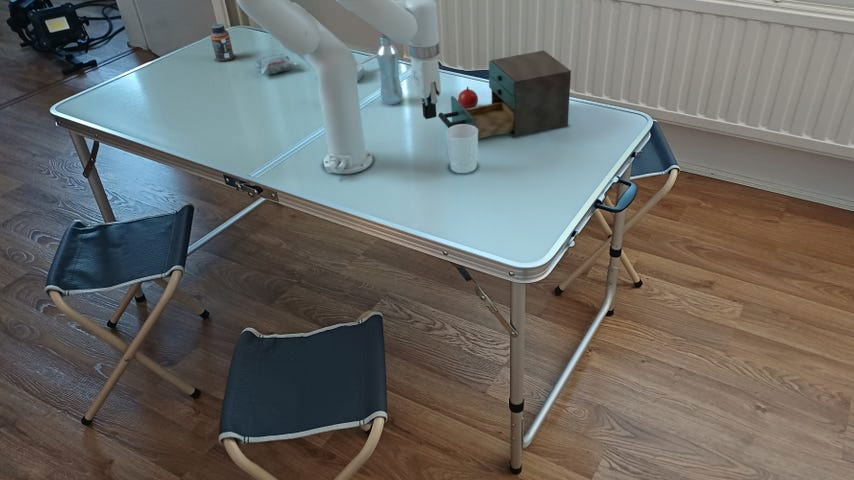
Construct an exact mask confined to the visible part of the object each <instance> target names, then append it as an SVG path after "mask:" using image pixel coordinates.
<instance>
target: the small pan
mask: <svg viewBox="0 0 854 480" xmlns="http://www.w3.org/2000/svg"><path fill="white" fill-rule="evenodd" d="M373 59H377V54H373V55H371V56H369V57H367V58H365V59H363V60H362V59H361V60H360V61H356V63H357V82H358V81H360V80H361V79H362V76H363V74H364V69H365V68H364V63H367V62H370V61H371V60H373Z"/></svg>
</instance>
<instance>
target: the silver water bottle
mask: <svg viewBox="0 0 854 480" xmlns="http://www.w3.org/2000/svg"><path fill="white" fill-rule="evenodd" d="M379 44H380V45H379V47H378V49H377V51H376V55H377V57H376V60H377V63H378V68H379V73H380V97H381V101H382V102H383V103H385V104H387V105H395V104H398V103H400V102H401V101H402V100H403V94H404V93H403V88H402V86H401V81H400V75H399V62H400V61H399V59H400V58H399V57H400V54H399V50H398V49H397V47H396V45H394V42H393V41H392V40H391V39H389V38H388V37H387V36H385V35H384V34H383V33H382V34H380V35H379Z"/></svg>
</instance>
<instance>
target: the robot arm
mask: <svg viewBox="0 0 854 480" xmlns="http://www.w3.org/2000/svg"><path fill="white" fill-rule="evenodd" d="M334 1H335V2H336V3H337V4H339V5H341V6H342V7H343V8H345V9H346V10H348V11H349V12H351V13H352V14H355V15H356V16H357V17H359V18H360V19H362V20H363V21H365V22H366V23H368V24H369V25H370V26H372V27H373V28H375V30H377V31H379V33H382V34H384V35H385V36H387V37H388V38H389V39H391V40H392V41H393V43H396V44H400V45H404V44H408V48H409V49H408V50H409V57H410V65H411V66H410V67H411V69H410V70H411V84H412V85H411V86H412V88H413V89H414V91H416V93H417V94H418V95H419V96H420V99H421V106H422V107H421V108H422V116H423V118H424V119H425V120H430V119H433V118H434V119H435V118H436V117H438V115H437V104H438V98H437V97H440V96H441V94H442V86H441V75H440V67H439V66H440V65H439V60H438V58H439V57H440V55H441V51H440V50H441V49H440V48H441V47H440V35H439V21H438V7H437V6H438V5H437V2H436V1H435V0H334ZM236 2H237V4H238V6H239V8H241V10H242V11H243V12H244V13H245V14H246V15H247V16H248V17H249V18H250V19H251V20H253V21H254V22H255V23H256V24H257V25H259V26H260V28H262V29H263V30H264V31H265V32H266V33H268V34H269V35H270V36H271V37H273V38H274V39H275V40H276V41H277V43H279V45H281V46H282V47H283V48H284V49H286V50H287V51H289V52H290V53H293V54H295V55H297V57H299V58H300V59H301V60H303V61H304V62H305V63H306V64H308V66H309V67H310V68H311V69H312V71H314V73H315V74H316V79H317V83H318V84H317V85H318V86H317V87H318V91H317V92H318V100H319V102H318V103H319V107H320V112H321V113H320V114H321V119H322V125H323V129H324V136H325V143H326V149H327V154H326V155H325V156H324V158H323V167H324V168H325V172H326V173H327V174H332V173H333V174H338V175H339V174H340V175H349V174H355V173H359V172H362V171H364V170H366V169H368V168H369V167H370V166H371V165H372V163H373V161H374V160H373V154H372V152H371V151H369V150H368V149H367V148H366V144H365V135H364V128H363V122H362V121H363V120H362V114H361V105H360V97H359V88H358V81H357V63H356V62H357V60H356V58H355V57H356V56H355V55H354V53H353V52H352V51H351V49H350V48H349V47H348V46H347V45H346V44H345V43H344V42H343V41H341V40H340V39H339V38H338V37H337V36H336V35H335V34H333V33H332V32H331V31H330V30H329V29H327V28H326V27H325V26H324V25H323V24H322V23H321V22H320V21H318V20H317V19H316V18H315V17H313V15H312V14H310V13H309V12H308V11H307V10H306V9H305V8H304V7H302V6H301V5H299V4H298V3H296V2H294V1H291V0H236Z"/></svg>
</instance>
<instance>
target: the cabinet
mask: <svg viewBox="0 0 854 480" xmlns="http://www.w3.org/2000/svg"><path fill="white" fill-rule="evenodd" d="M488 74H489V75H488V87H489V89H490V90H491V104H493V103H498V102H503V101H504V102H505V103H506V104H507V105H508V106H509V107H510V108H511V109H512V110H513V111H514V131H511V132H509V133H510V135H512V137H514V138H520V137H524V136H529V135H535V134H538V133H543V132H547V131H552V130H558V129H561V128H566V127H569V111H570V110H569V109H570V96H571V80H572V79H571V78H572V77H571V76H572V70H571V69H570V68H568V67H567V66H566V65H564V64H563V63H562V62H560V60H557V59H556V58H554V57H553V56H552V55H551V54H549V53H548V52H546V50H538V51H534V52H528V53H524V54H516V55H512V56H507V57H501V58H500V57H499V58H496V59H491V60H489V61H488Z"/></svg>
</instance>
